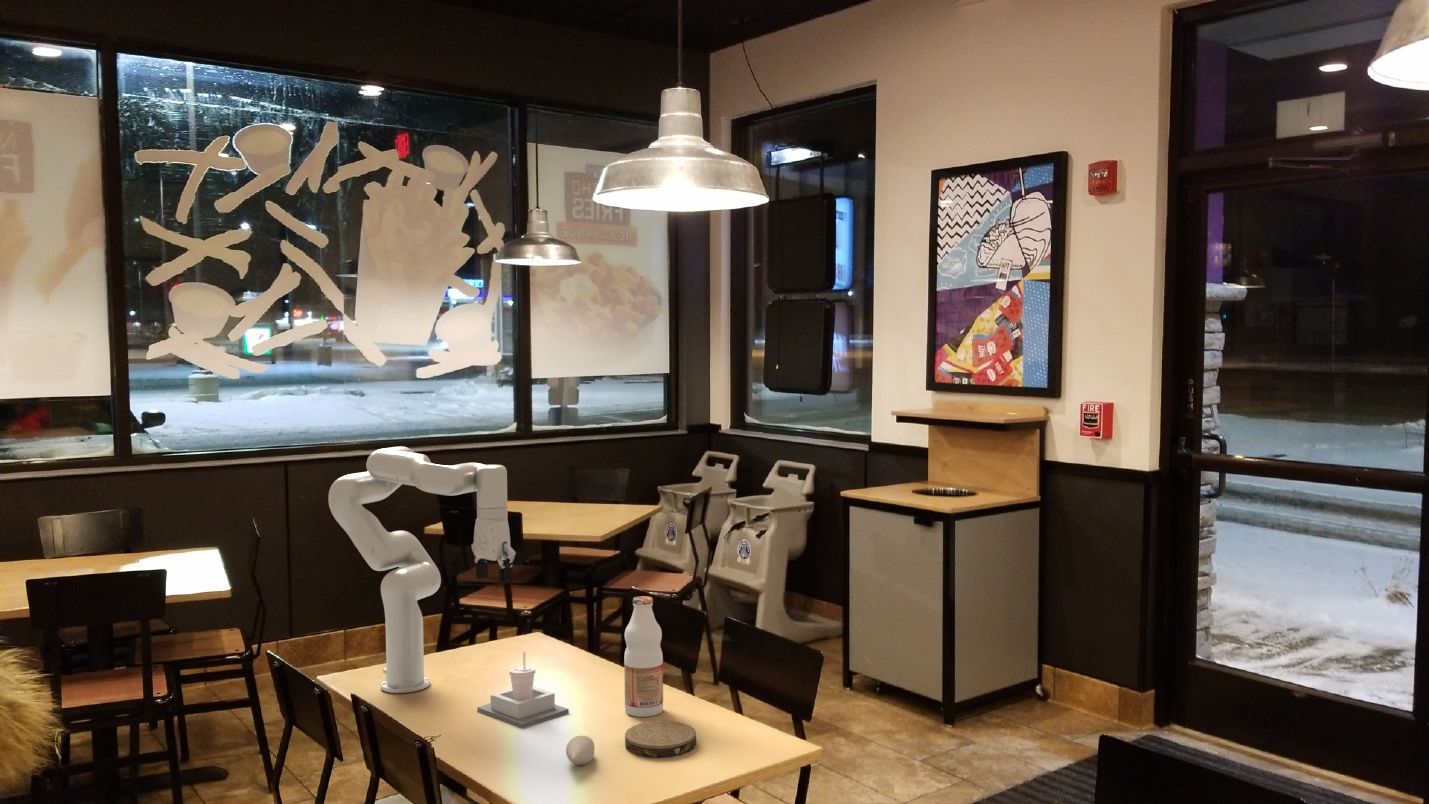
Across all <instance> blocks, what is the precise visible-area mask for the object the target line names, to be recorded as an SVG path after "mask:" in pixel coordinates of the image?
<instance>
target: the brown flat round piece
mask: <svg viewBox="0 0 1429 804" xmlns="http://www.w3.org/2000/svg"><path fill="white" fill-rule="evenodd" d="M624 745H625V750H626V751H627V752H628V753H630V754H632V755H634V756H638V757H643V758H647V759H667V758H675V757H680V756H684V755H685V754H689V753H690V752H692V751H693V750H694V749H695V748H696V745H697V732H696V730H695V728H694V727H693V726H691V725H690V724H686V723H684V722H678V721H673V720H652V721H647V722H641V723H638V724H635V725H632V726H631V727H629V728H627V729H626V730H625V733H624Z"/></svg>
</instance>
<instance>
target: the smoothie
mask: <svg viewBox="0 0 1429 804" xmlns="http://www.w3.org/2000/svg"><path fill="white" fill-rule="evenodd" d="M508 671H509V672H508V674H509V676H510V681H511V689H513V696H514V700H516V701H523V700H526V699H529V698H532V690H533V686H534V680H535V674H536V667H534V666H533V665H532V666H531V665H526V651H523V652H522V665H518V666H513V667H511V668H509V670H508Z"/></svg>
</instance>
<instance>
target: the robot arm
mask: <svg viewBox="0 0 1429 804" xmlns="http://www.w3.org/2000/svg"><path fill="white" fill-rule="evenodd" d="M365 463H366V470H367V471H362V472H355V473H350V474H349V473H348V474H346V475H343V476H341V477H338V478H337V479H336V480H334V481H333V483H332V484H331V486H330V489H329V490H328V498H327V499H328V506H329V509H330V512H331V514H332V516H333V517H334V520H335V521H336V522H337V523H338V524H339V526H340V527H341V528H342V529H343V530H344V532H346V534H347V535H348V537H349V538H350V540H351V541H352V543H353V545H354V546H355V548H357V550H358V552H359V553H360V554H361V557H362V558H363V559H364V560H365V563H367V565H368V566H369V567H370V568H371V569H372V570H374V571H377V572H381V571H382V572H383V571H387V570H388V571H389V570H390V571H389V572H388V573H386V574H385V576H383V579H382V580H381V583H380V595H381V599H382V604H383V609H384V619H385V623H384V625H385V658H386V662H385V663H386V664H385V666H386V667H385V668H384V669H383V670H382V673H383V674H385V676H386V677H385V678H386V679H385V680H383V681H382V682H381V683H380V689H381V691H384V692H386V693H391V694H407V693H413V692H414V693H415V692H418V691H421V690H424V689H427V688H428V687H430V685H431V679H430V677H428V676H425V665H424V664H425V661H424V660H425V659H424V658H425V655H424V654H425V653H424V621H423V614H422V611H421V609H420V606H419V603H418V601H419V600H421V599H424V598H426V597H430V596H433V595H434V594H435V593H436V592H437V591H439V588H441V582H442V578H441V573H440V571H439V567H437V565H436V563H435V562H434V560H432V558H431V557H430V555H429V554H428V552H427V551H426V549H425V548H424V546H423V545H422V544H421V542H420V540H419V539H417V537H416V536H415V535H414V534H412V533H411V532H409V531H406V530H395V531H391V532H390V531H388V530H387V529H386V528H385V527H384V526H383V525H382V523H381V521H380V520H379V519H378V518H377V516H375V514H373V513H372V512H371V511H369V510H368V509H366V508H365V507H364V506H363V505H365V504H370V503H375V502H379V501H382V500H384V499H386V498H388V497H389V496H390V495H391V494H393V493H394V492H395V491H396V490H397V489H399V488H400V487H401V486H402V485H406V486H412V487H416V488H417V489H418V490H420V491H423V492H425V493H429V494H436V495H441V496H447V497H448V496H452V497H453V496H459V495H463V494H468V493H473V492H476V514H477V515H476V517H477V518H476V519H475V525H474V531H473V542H472V543H471V550H472V555H473V558H474V564H475V570H476V571H475V573H476V574H475V575H476V579H477V580H480V579H486V578H488V577H489V565H488V564H489V562H488V561H495V562H496V561H497V563H498V565H499V567H500V568H498V584H499V585H506V584H509V583H510V584H511V582H512V574H511V573H512V572H511V571H512V569H511V568H512V567H513V564H514V562H515V557H516V554H517V553H516V551H515V550H514V548H513V547H512V546H511V534H510V533H511V531H510V526H509V521H508V520H509V519H508V474H507V473H508V471H507V468H506V467H505V466H504V465H502V464H483V463H478V462H467V463H466V462H464V463H459V464H458V463H457V464H454V465H444V464H436V463H432V462H431V460H430V458H429V457H428V455H426V454H423V453H417V452H414V450H413V449H411V448H409V447H406V446H401V445H400V446H392V447H386V448H385V447H384V448H380V449H377V450H374V451H373V452H372V453H371V454H369V456H368V457H367V461H366V462H365ZM487 560H488V561H487ZM397 567H398V568H397ZM395 568H396V569H395ZM391 569H393V570H391Z"/></svg>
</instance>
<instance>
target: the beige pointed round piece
mask: <svg viewBox="0 0 1429 804" xmlns="http://www.w3.org/2000/svg"><path fill="white" fill-rule="evenodd" d="M595 751H596V750H595V743H594V740H593V739H592V738H591V737H590V736H588V735H578V736H574V737H572V738H570V740H569V741H568V743H567V744H566V748H565V752H566V753H565V754H566V756H567V759H568V761H569V762H571V763H572V764H574V765H576V766H585V765H587V764H588V763H590V762H592V759H593V758H594V757H595V756H594V755H595Z"/></svg>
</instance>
